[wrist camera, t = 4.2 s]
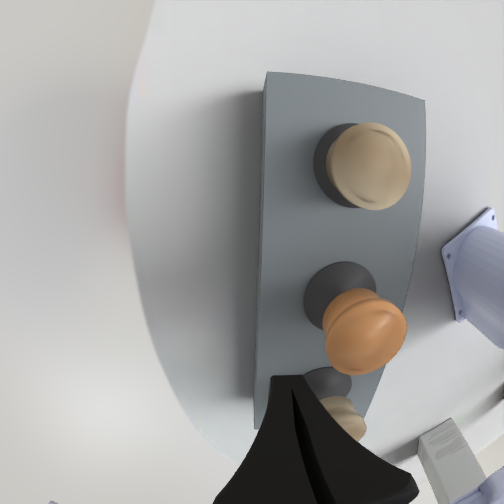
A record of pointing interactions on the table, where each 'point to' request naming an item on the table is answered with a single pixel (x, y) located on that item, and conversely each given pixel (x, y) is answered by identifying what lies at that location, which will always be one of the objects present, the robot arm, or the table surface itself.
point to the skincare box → (449, 462)
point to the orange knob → (362, 331)
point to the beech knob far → (345, 415)
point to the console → (326, 228)
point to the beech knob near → (369, 166)
